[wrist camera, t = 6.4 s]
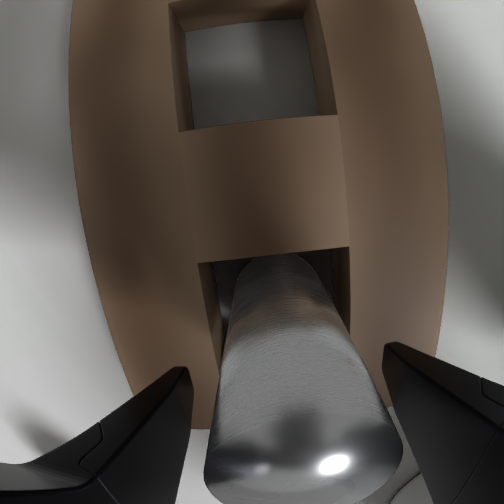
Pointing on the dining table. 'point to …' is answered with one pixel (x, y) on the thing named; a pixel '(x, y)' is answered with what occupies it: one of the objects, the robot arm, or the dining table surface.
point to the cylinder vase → (413, 493)
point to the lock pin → (294, 398)
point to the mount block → (257, 179)
